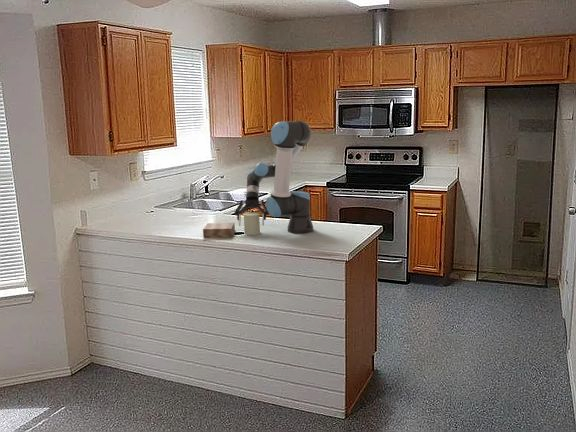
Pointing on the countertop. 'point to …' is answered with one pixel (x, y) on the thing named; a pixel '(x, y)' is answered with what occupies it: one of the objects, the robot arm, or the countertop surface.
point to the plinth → (218, 230)
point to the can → (251, 223)
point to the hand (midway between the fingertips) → (251, 224)
